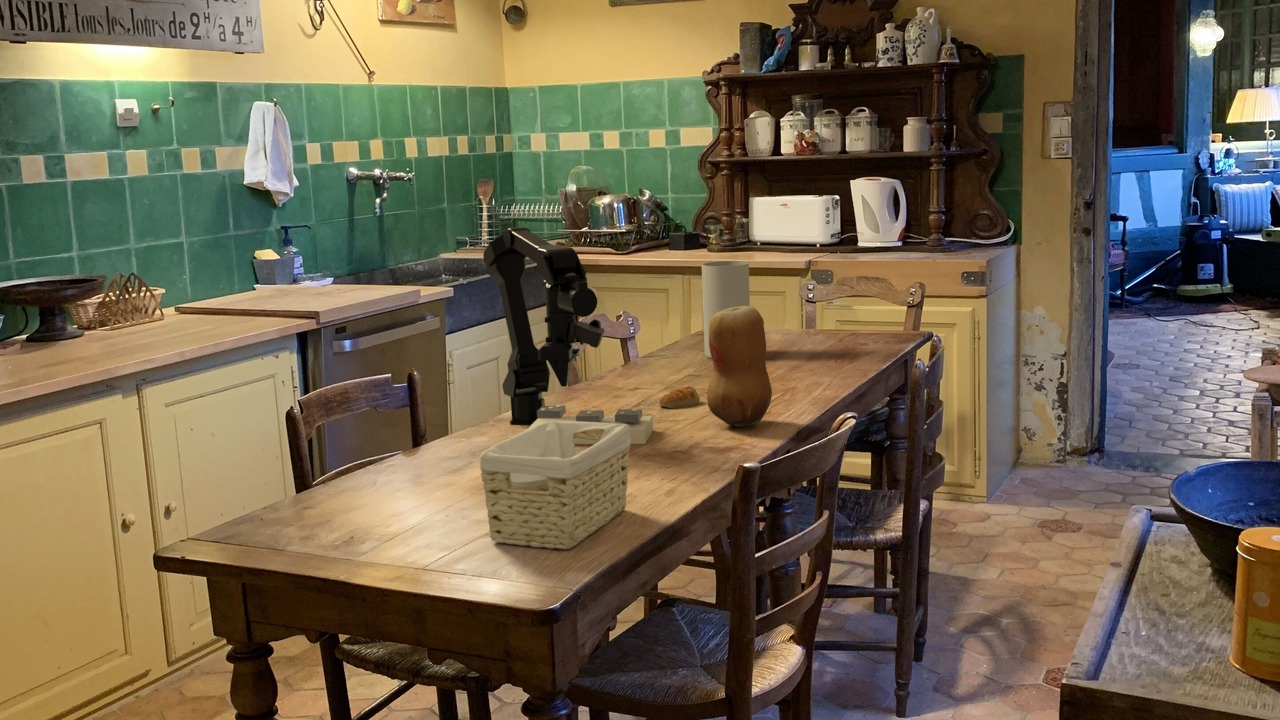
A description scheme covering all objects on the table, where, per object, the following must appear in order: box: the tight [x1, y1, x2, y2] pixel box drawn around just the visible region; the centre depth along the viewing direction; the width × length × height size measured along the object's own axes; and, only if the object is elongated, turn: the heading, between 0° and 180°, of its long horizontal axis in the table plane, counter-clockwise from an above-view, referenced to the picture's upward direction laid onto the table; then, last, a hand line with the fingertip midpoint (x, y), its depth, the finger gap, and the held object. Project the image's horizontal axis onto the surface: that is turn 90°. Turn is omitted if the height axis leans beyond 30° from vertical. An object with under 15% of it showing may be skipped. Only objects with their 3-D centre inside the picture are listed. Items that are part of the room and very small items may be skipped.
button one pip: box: [575, 409, 605, 423], centre depth 248 cm, size 5×5×2 cm
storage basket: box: [479, 420, 631, 550], centre depth 193 cm, size 24×16×15 cm
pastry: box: [659, 385, 701, 409], centre depth 274 cm, size 9×7×4 cm
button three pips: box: [537, 404, 567, 418], centre depth 249 cm, size 5×5×2 cm
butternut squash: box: [706, 305, 773, 428], centre depth 250 cm, size 14×13×25 cm
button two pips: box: [614, 408, 643, 422], centre depth 247 cm, size 5×5×2 cm
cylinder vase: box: [701, 260, 751, 360], centre depth 326 cm, size 12×12×25 cm
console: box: [527, 415, 654, 445], centre depth 249 cm, size 24×11×3 cm, turn 80°
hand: (564, 386), depth 248 cm, fingers closed
